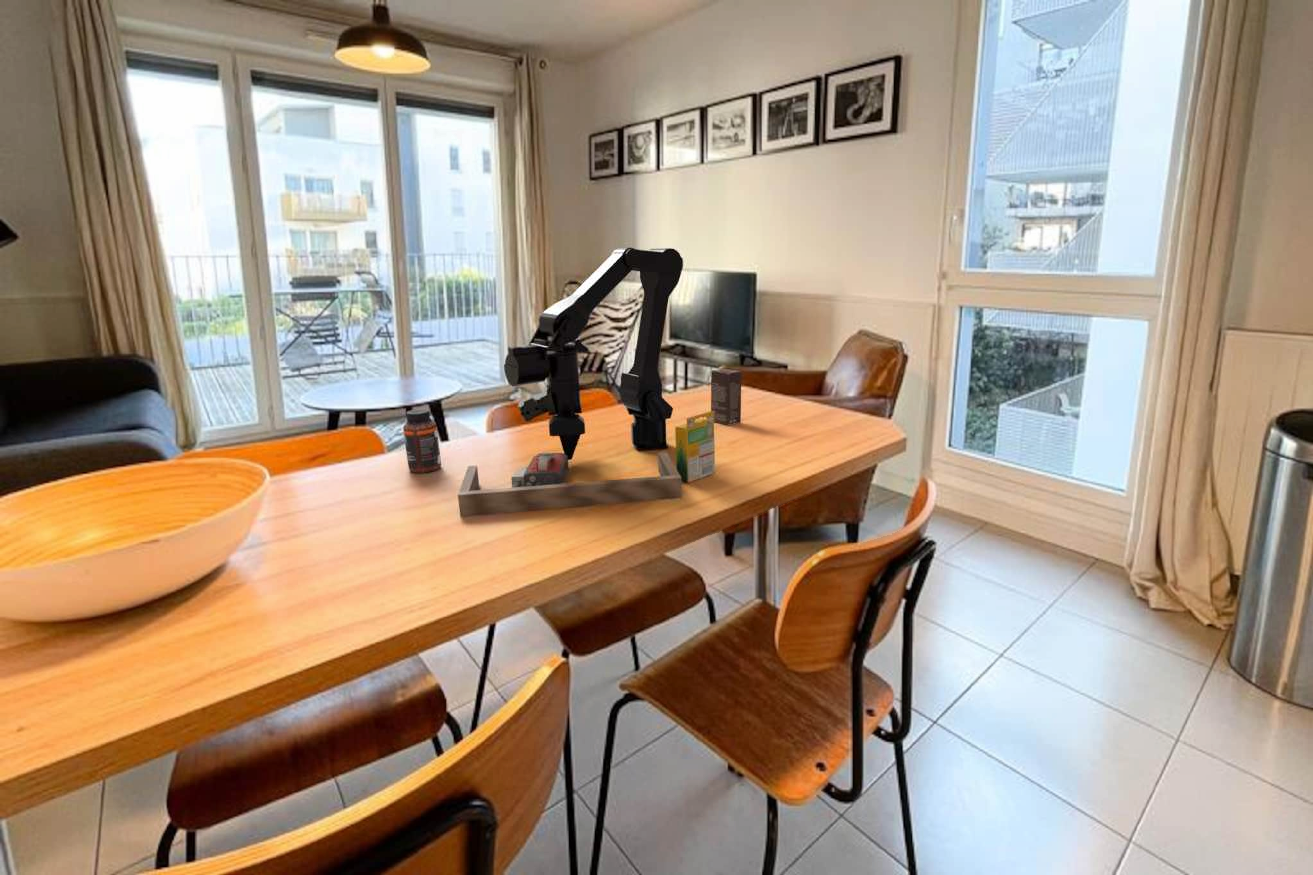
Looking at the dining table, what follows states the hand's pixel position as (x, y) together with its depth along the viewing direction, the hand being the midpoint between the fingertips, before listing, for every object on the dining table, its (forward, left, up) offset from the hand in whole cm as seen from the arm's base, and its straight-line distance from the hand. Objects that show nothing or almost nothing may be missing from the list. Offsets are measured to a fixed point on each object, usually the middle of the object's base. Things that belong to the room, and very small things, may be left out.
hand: (568, 459), depth 127 cm
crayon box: (-22, +12, -1) cm, 25 cm away
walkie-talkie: (+6, +9, -2) cm, 11 cm away
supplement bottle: (+27, -4, -1) cm, 27 cm away
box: (-37, -24, -1) cm, 44 cm away
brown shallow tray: (0, +14, -1) cm, 14 cm away
